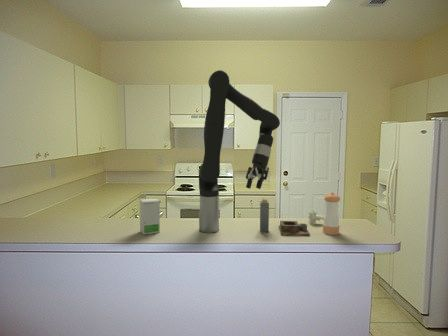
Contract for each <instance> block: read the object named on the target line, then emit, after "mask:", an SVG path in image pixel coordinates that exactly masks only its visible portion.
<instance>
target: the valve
mask: <svg viewBox="0 0 448 336" xmlns="http://www.w3.org/2000/svg"><path fill="white" fill-rule="evenodd" d="M317 213H318V212H317V211H316V210H309V211H308V224H309V223H310V224H309V225H316V224H317V221H318V222H320V220H323V221H324V215H320V214H317Z"/></svg>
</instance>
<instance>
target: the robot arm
mask: <svg viewBox="0 0 448 336" xmlns="http://www.w3.org/2000/svg"><path fill="white" fill-rule="evenodd" d="M207 83H208V87H209V102H208V106H207V109H206V113H205V114H206V115H205V118H204V119H205V120H204V127H203V143H204V155H203V159H202V160H203V161H202V163H201V164H200V166H199V169H198V190H199V212H198V232H202V233H215V232H218V231H220V191H219V190H220V189H219V184H218V178H220V175H221V163H220V162H221V151H222V145H223V138H224V132H225V122H226V121H225V120H226V119H225V118H226V103H227V101H230V102H231V103H232V104H234V106H235V107H237V108H238V109H240V110H241V111H242V112H244V114H246V116H248V117H249V118H250V119H252V120H254V121H260V124H259V125H260V126H259V132H258V138H257V143H256V146H255V149H254V152H253V157H252V159H251V163H252V165H253V166H249V167H248V169H247V173H246V175H245V180H247V182H246V186H245V188H246V189H249V190H250V189H251V187H252V183H253V180H254V179H256V178H257V182H256V185H255V188H256V189H258V190H260V189H262V185H263V182H264V181H266V180H267V178H268V175H269V171H270V168H269V167H268V165H269V161H270V157H271V153H272V152H271V151H272V147H273V143H274V137H273V136H272V135H273V131H275V130H277V129H278V128H279V127H280V125H281V121H280V119H279V117H278V116H277V115H276V114H274V112H271V111H269V110H267V109H265V108H263V107H262V106H261V105H259V104H258V103H257V102H256V101H255V100H253V98H250V97H249V96H248V95H246V94H244V93H242V92H240V91H239V90H238V89H236V88H235V87H234V86H233V85H232V84H231V83H230V77H229V75H228V73H227V72H226V71H224V70H222V69H219V70H218V69H217V70H215V71H214V72H213V73H212V74H211V75H210V76H209V78H208V82H207Z"/></svg>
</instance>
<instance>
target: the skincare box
mask: <svg viewBox="0 0 448 336" xmlns="http://www.w3.org/2000/svg"><path fill="white" fill-rule="evenodd" d="M160 212H161V211H160V200H159V199H158V198H145V199H144V198H143V199H139V231H140V233H142V234H143V235H144V236H145V235H151V234H159V233H160V232H161V229H160V228H161V226H160V225H161V224H160V223H161V222H160V217H161V216H160V214H161V213H160Z"/></svg>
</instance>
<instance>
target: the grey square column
mask: <svg viewBox="0 0 448 336" xmlns="http://www.w3.org/2000/svg"><path fill="white" fill-rule="evenodd" d="M269 216H270V201H268V198H261V201H260V202H259V232H260V233H269V228H270V227H269V225H270V223H269V222H270V217H269Z"/></svg>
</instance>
